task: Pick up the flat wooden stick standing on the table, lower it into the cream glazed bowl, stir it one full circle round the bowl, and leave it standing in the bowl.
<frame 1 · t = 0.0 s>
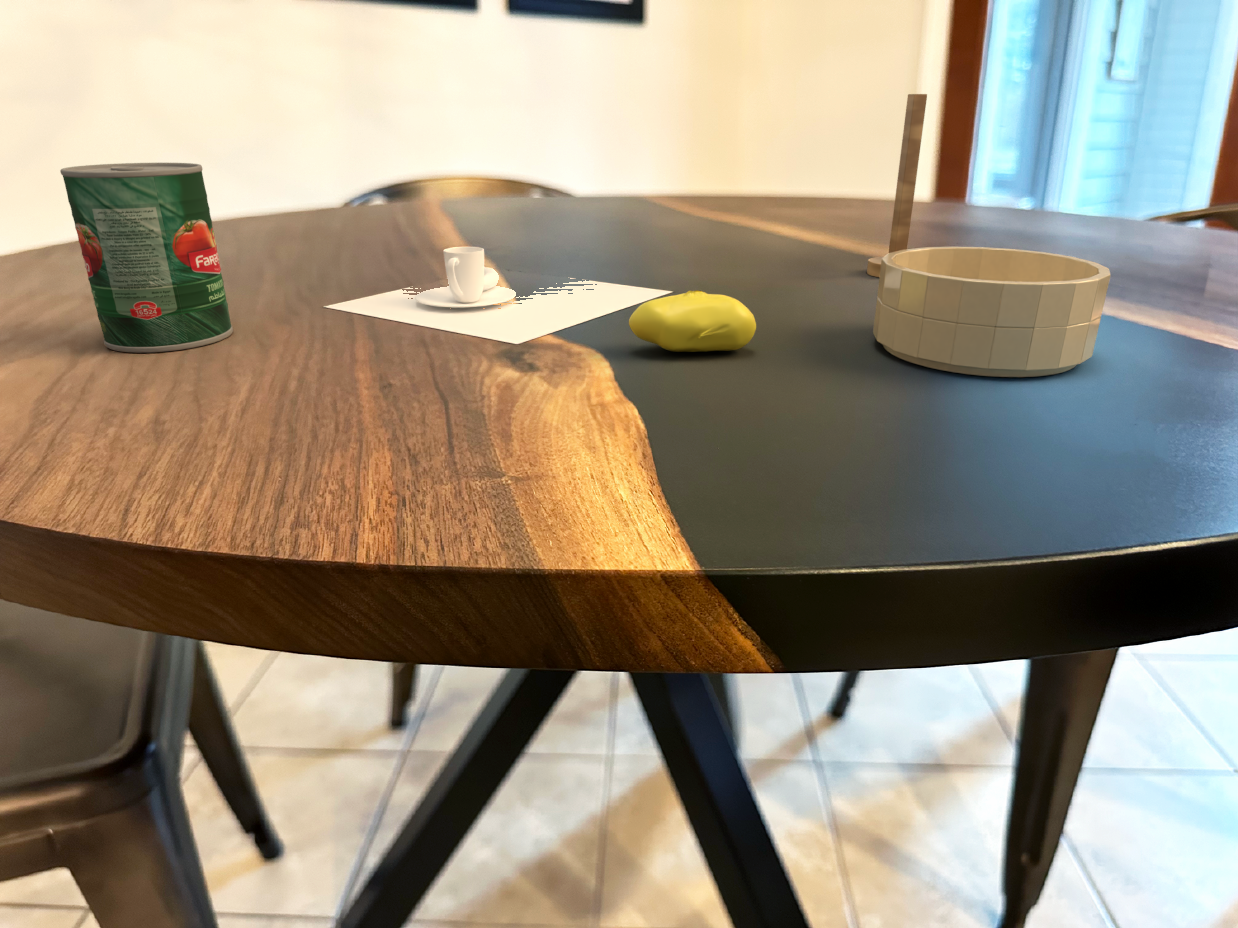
teacup and saucer: (504, 301, 68), on the table
canned tomato: (171, 340, 57), on the table
bowl: (976, 350, 53), on the table
lemon: (691, 354, 53), on the table
flat wooden stick: (894, 274, 77), on the table
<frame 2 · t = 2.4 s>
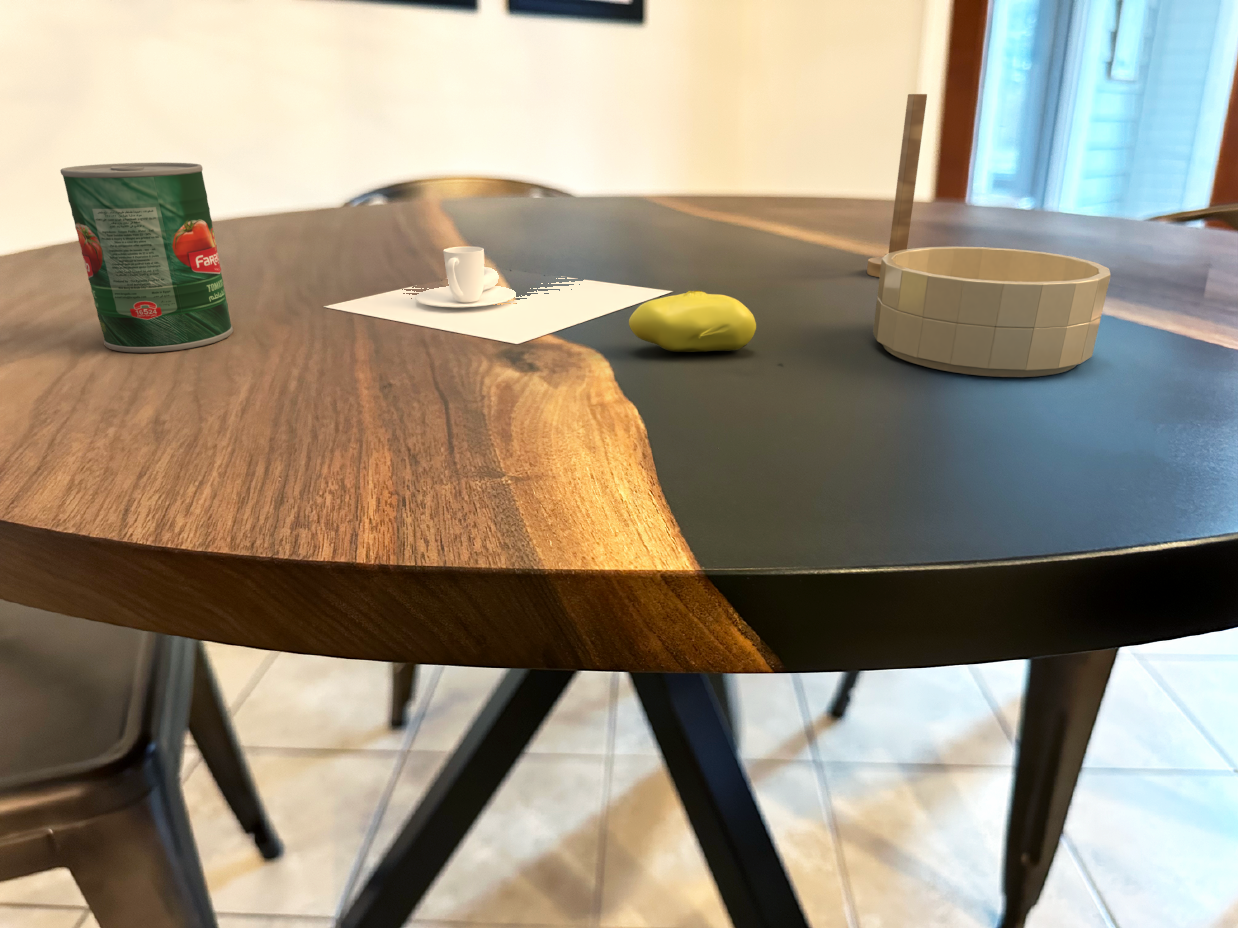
nothing on the table moved.
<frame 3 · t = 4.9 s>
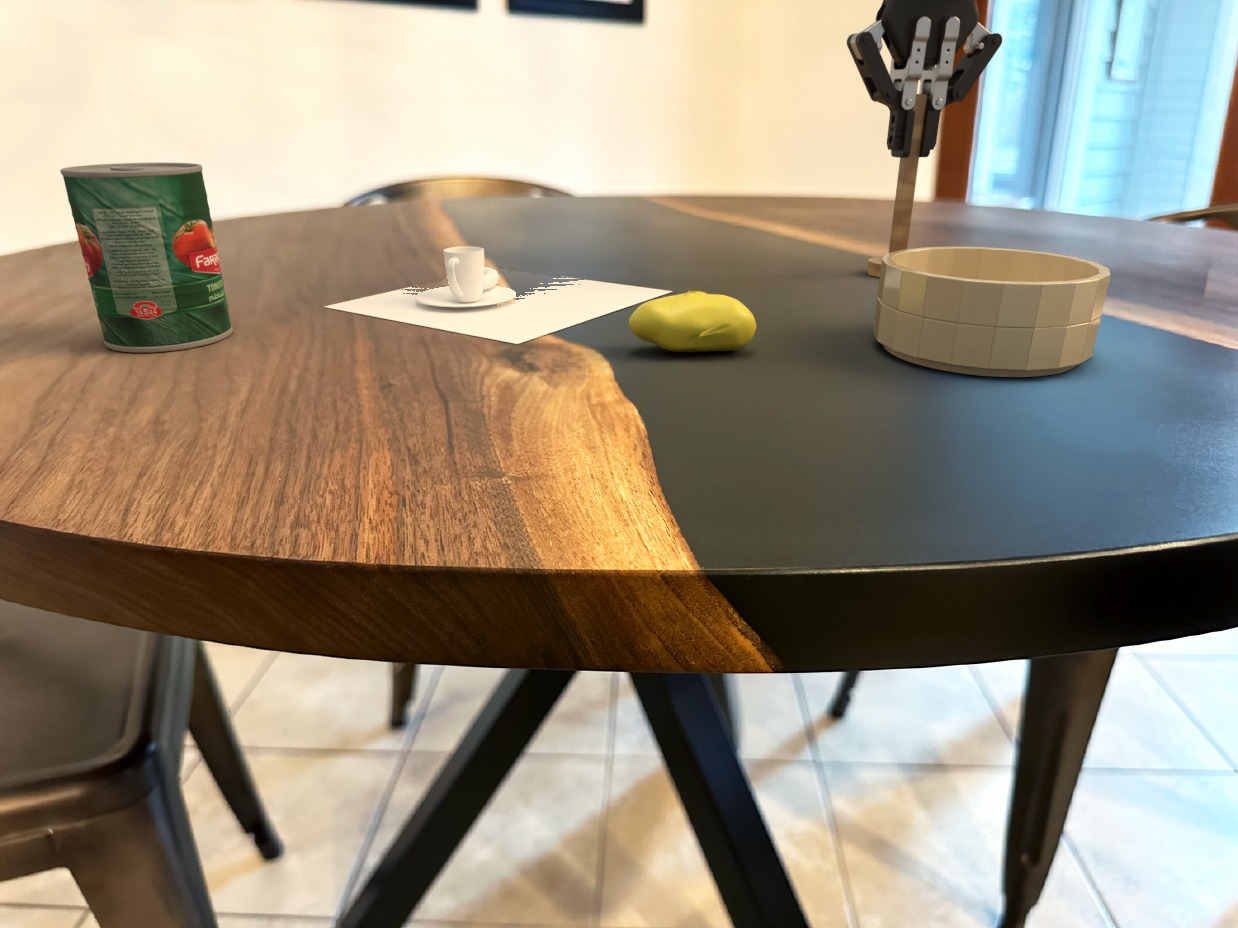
hand: (910, 156, 73), 10 cm above the table, tool pointing down, fingers closed on flat wooden stick
flat wooden stick: (894, 274, 77), on the table, touching gripper
everything else where it was.
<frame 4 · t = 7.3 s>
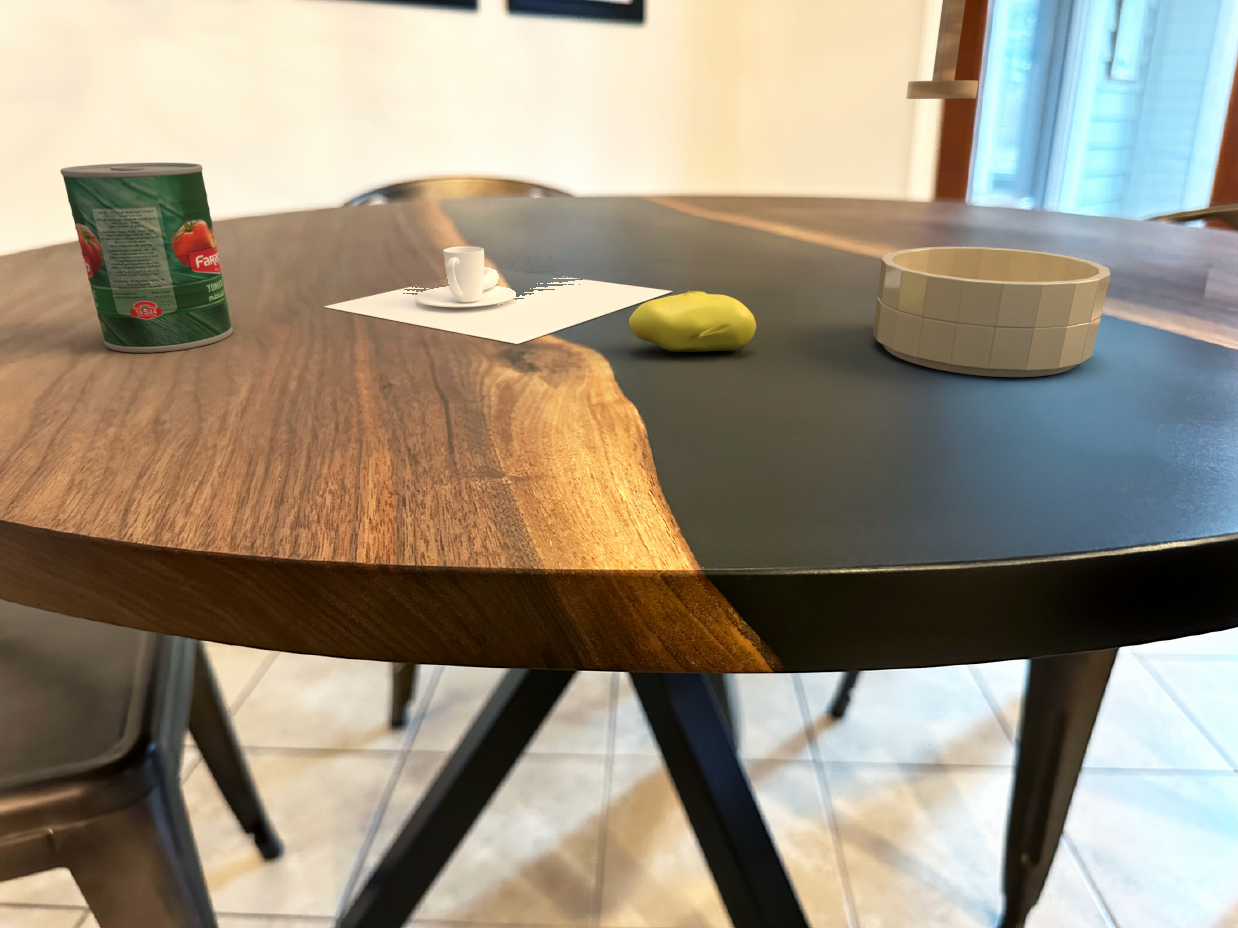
flat wooden stick: (940, 98, 64), point 15 cm above the table, touching gripper
everything else where it was.
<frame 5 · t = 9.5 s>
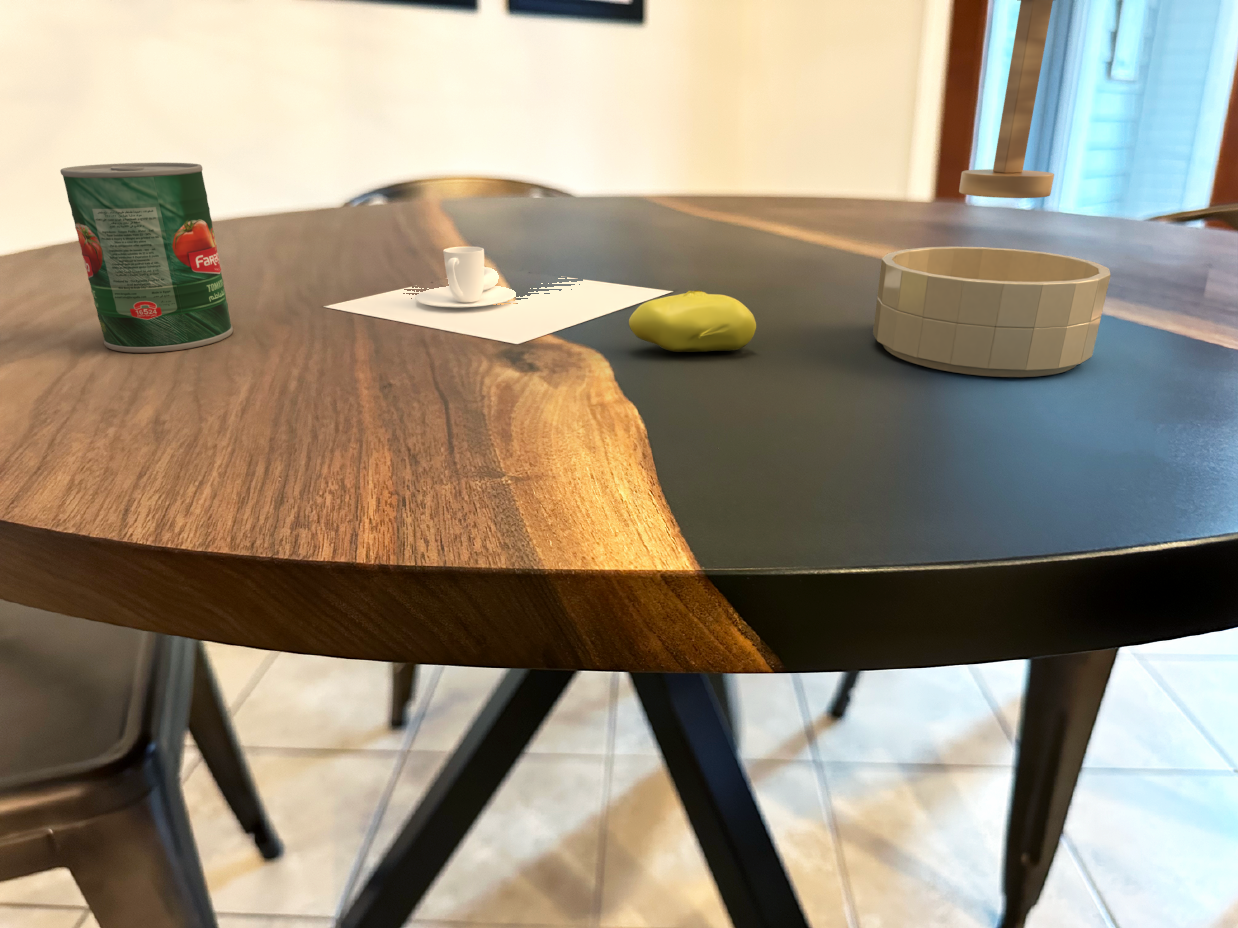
flat wooden stick: (1003, 193, 50), point 10 cm above the table, touching gripper
everything else where it was.
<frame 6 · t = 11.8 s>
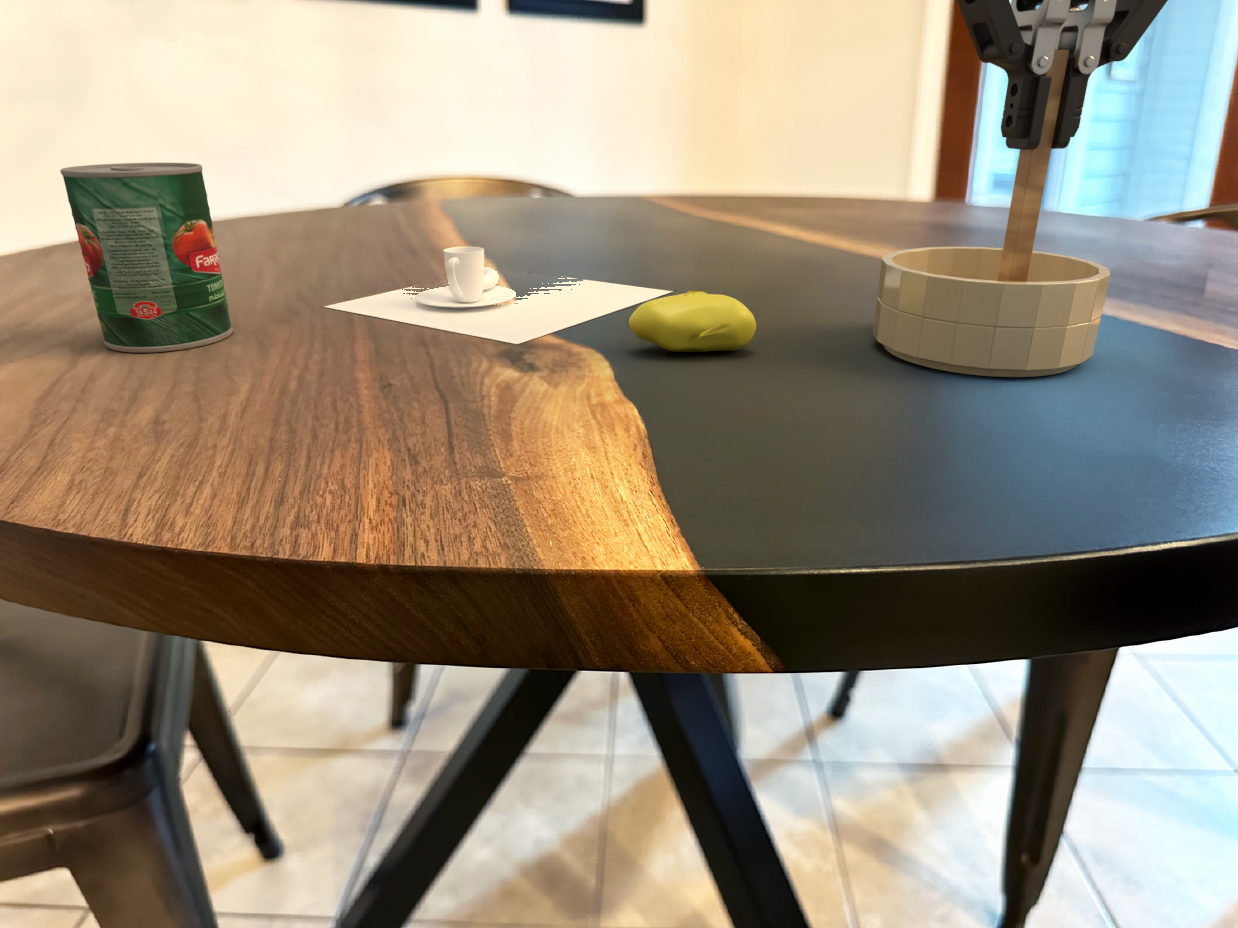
hand: (1036, 147, 48), 12 cm above the table, tool pointing down, fingers closed on flat wooden stick
flat wooden stick: (1004, 323, 52), point 2 cm above the table, touching gripper
everything else where it was.
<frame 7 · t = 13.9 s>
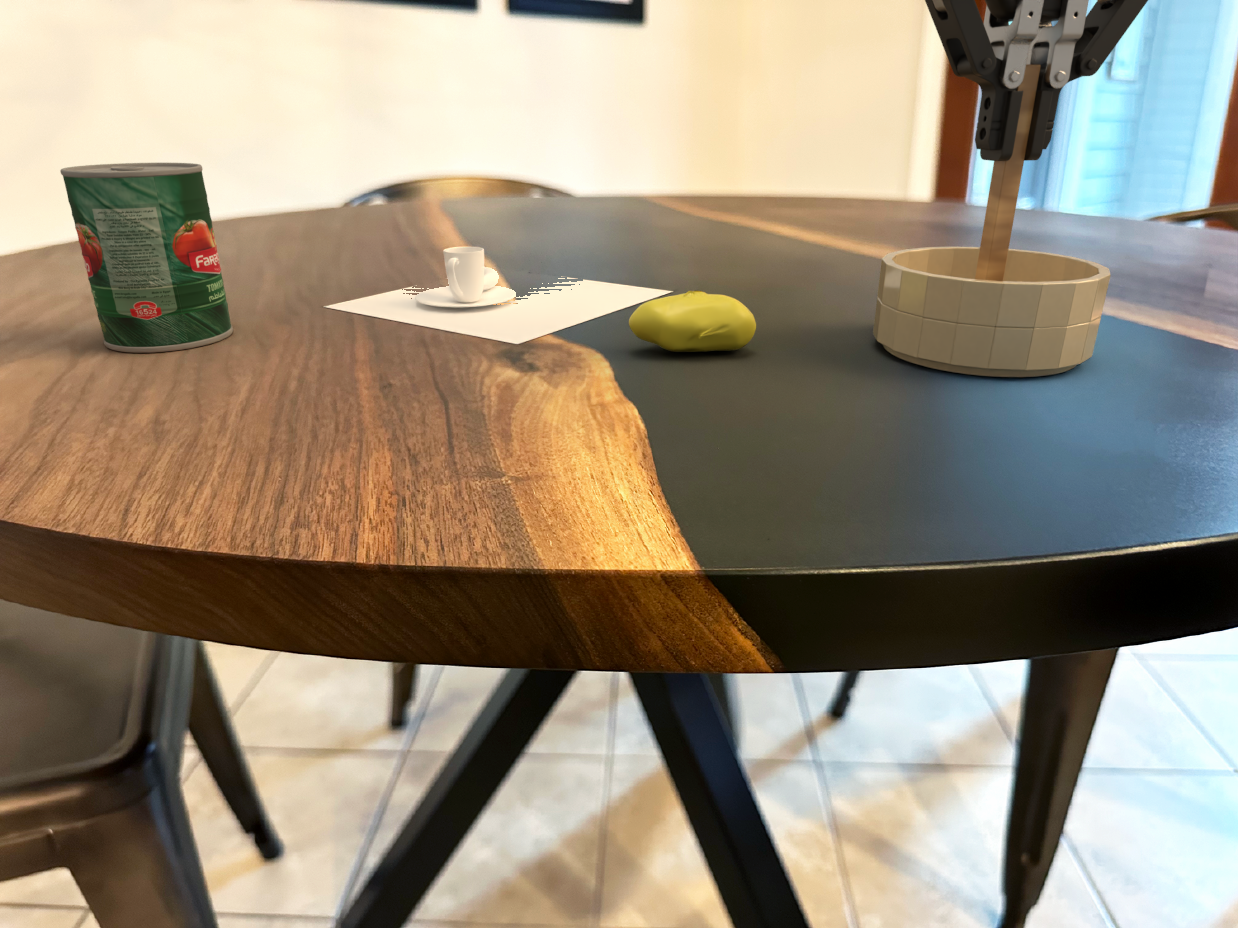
hand: (1009, 159, 49), 12 cm above the table, tool pointing down, fingers closed on flat wooden stick
flat wooden stick: (980, 330, 53), point 1 cm above the table, touching gripper
everything else where it was.
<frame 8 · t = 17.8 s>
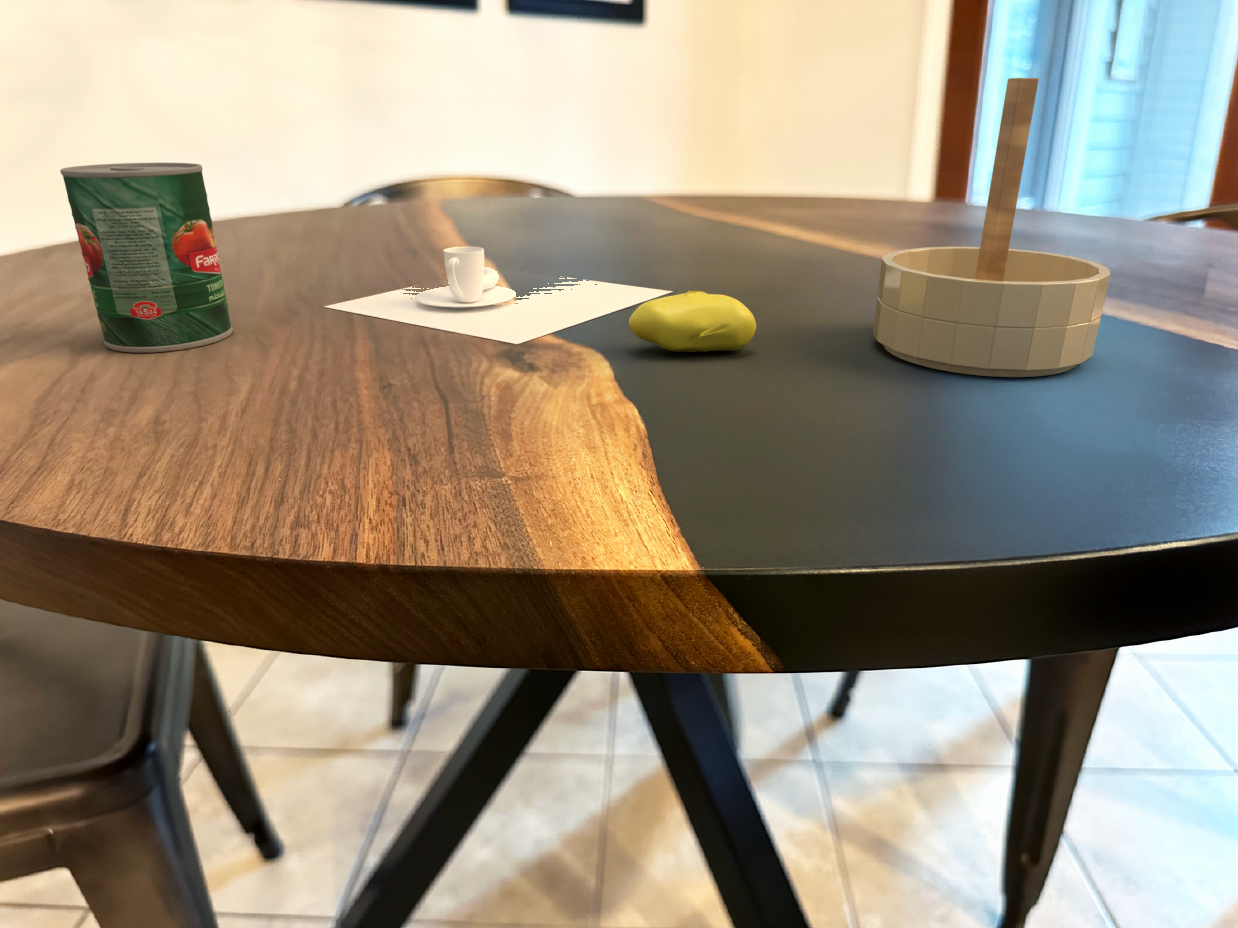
flat wooden stick: (978, 340, 53), point 1 cm above the table, touching bowl
everything else where it was.
at the end: flat wooden stick inside the target area in the bowl (0.0 cm from its centre), point 0.6 cm above the bowl's base; flat wooden stick tilted 0°; the gripper is holding nothing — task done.
